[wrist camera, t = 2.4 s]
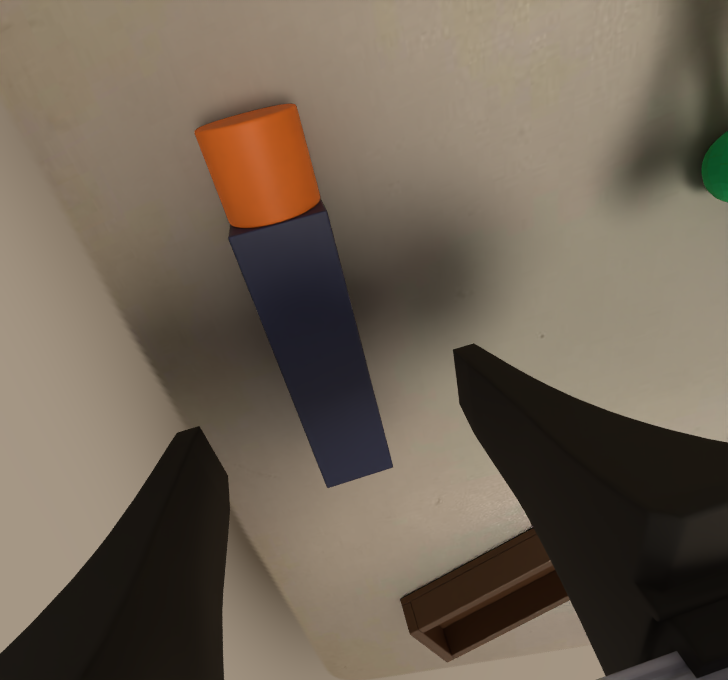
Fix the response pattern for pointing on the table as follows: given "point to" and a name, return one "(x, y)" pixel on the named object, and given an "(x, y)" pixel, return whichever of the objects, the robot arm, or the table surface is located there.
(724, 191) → the decorative model
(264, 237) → the marker
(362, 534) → the table surface
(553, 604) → the pen tray
